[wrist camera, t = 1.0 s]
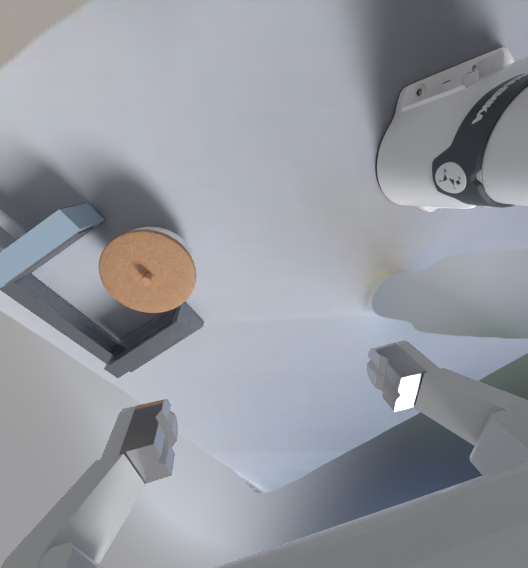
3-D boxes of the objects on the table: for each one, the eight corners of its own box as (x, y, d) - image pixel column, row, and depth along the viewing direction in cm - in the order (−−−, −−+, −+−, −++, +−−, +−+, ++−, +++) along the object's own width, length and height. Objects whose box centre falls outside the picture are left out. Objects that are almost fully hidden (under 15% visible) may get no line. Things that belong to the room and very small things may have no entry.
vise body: (86, 199, 29) (54, 204, 24) (203, 321, 40) (201, 345, 34) (-4, 264, 31) (-55, 285, 25) (134, 365, 41) (120, 396, 36)
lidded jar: (149, 202, 31) (124, 212, 23) (213, 250, 35) (213, 273, 27) (108, 261, 33) (71, 289, 25) (173, 299, 37) (161, 334, 29)
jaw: (35, 147, 26) (-13, 140, 21) (105, 220, 31) (81, 230, 25) (-48, 211, 27) (-115, 220, 22) (32, 273, 32) (-7, 293, 26)
